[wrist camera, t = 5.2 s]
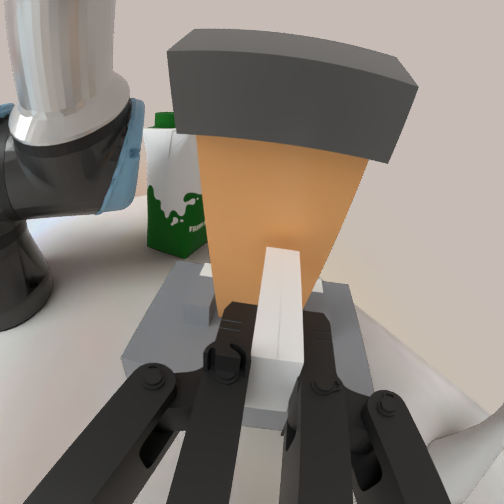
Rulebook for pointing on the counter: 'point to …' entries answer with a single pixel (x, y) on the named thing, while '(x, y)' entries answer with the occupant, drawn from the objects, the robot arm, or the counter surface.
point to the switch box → (207, 324)
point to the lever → (281, 142)
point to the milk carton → (173, 189)
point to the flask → (468, 455)
